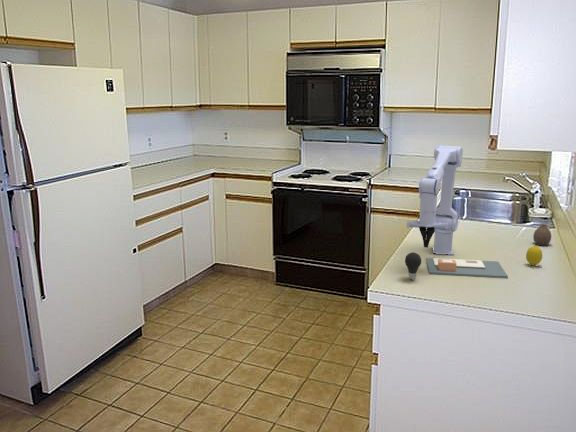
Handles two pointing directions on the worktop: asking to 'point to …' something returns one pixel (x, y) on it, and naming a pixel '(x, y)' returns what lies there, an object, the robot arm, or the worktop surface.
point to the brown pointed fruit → (542, 235)
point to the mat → (471, 270)
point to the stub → (446, 265)
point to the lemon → (534, 255)
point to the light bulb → (412, 264)
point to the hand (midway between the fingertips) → (425, 246)
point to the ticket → (464, 263)
